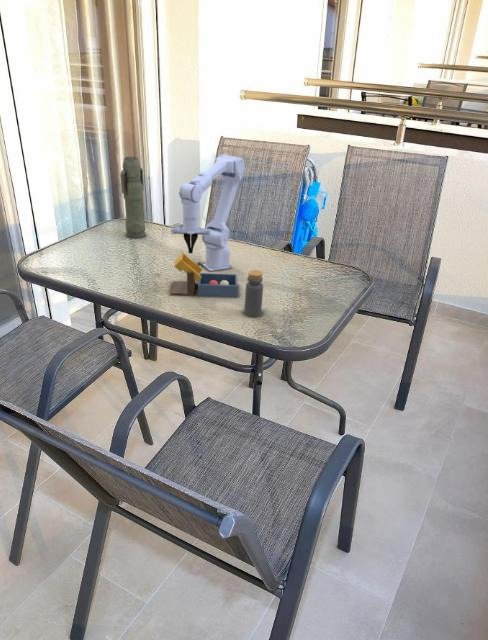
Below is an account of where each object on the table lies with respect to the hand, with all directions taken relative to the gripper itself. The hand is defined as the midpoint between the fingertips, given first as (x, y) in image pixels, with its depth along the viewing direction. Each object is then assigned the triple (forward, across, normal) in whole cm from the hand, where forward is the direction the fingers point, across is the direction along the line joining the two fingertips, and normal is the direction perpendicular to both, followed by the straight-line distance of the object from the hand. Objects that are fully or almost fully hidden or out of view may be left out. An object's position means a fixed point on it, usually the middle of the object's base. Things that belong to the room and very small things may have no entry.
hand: (190, 252), depth 195 cm
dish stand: (+10, -2, -11) cm, 15 cm away
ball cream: (+8, +13, -11) cm, 19 cm away
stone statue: (+10, -28, +50) cm, 58 cm away
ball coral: (+8, +9, -12) cm, 17 cm away
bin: (+10, +11, -11) cm, 19 cm away
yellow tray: (+4, -1, -8) cm, 9 cm away
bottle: (+11, +23, -30) cm, 39 cm away
